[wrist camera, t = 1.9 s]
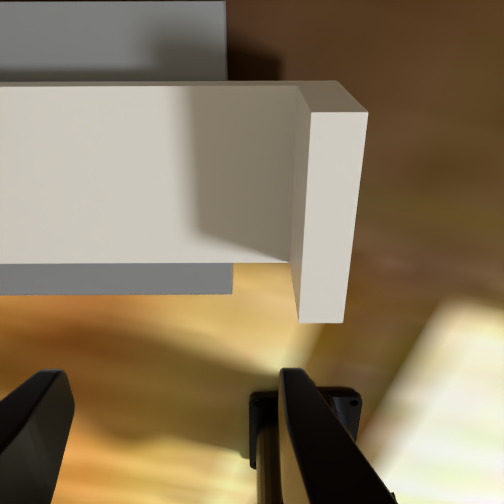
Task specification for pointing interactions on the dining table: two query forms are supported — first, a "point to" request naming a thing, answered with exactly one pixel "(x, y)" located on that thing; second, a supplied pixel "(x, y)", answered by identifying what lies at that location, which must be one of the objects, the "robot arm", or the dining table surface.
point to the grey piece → (114, 69)
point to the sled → (185, 177)
